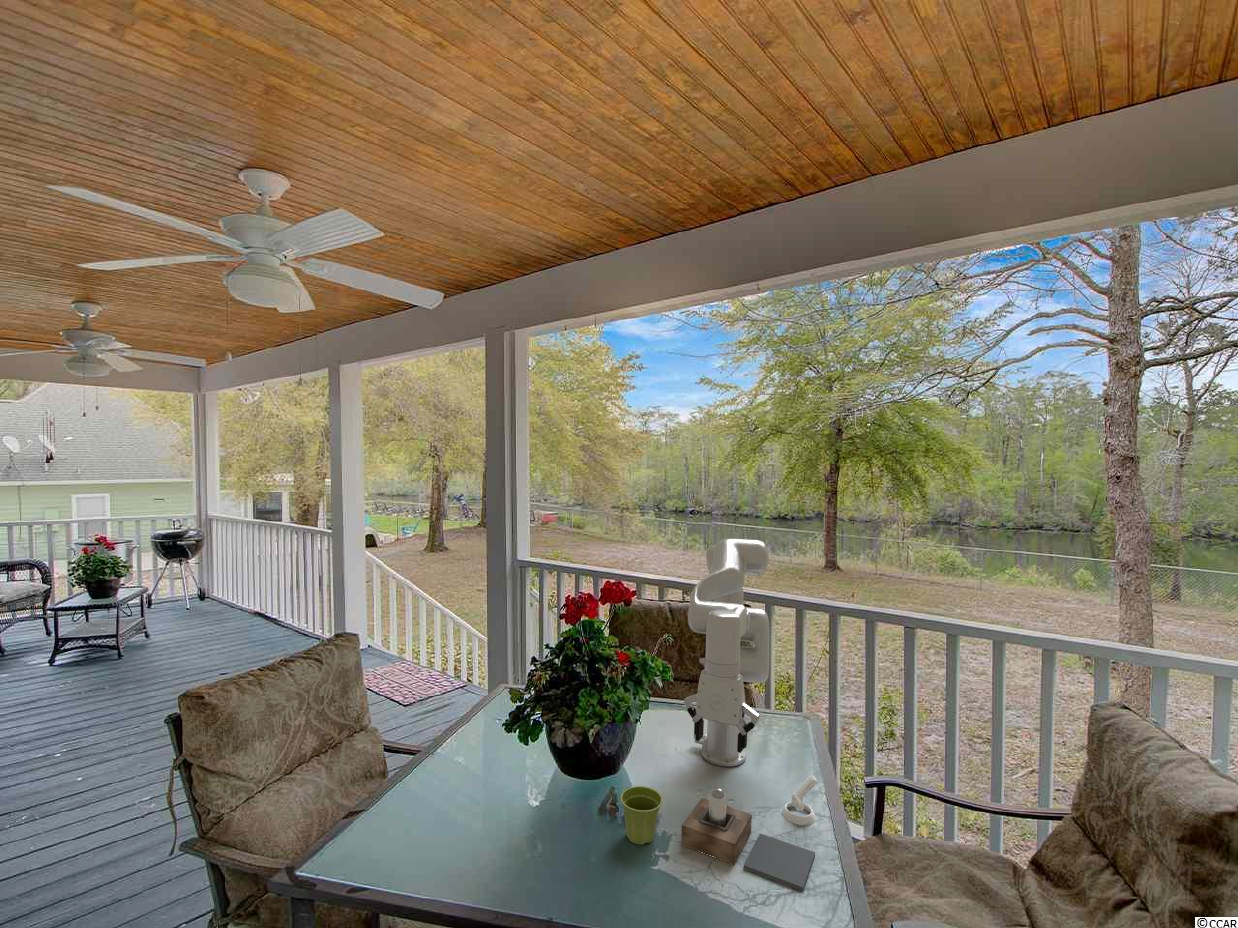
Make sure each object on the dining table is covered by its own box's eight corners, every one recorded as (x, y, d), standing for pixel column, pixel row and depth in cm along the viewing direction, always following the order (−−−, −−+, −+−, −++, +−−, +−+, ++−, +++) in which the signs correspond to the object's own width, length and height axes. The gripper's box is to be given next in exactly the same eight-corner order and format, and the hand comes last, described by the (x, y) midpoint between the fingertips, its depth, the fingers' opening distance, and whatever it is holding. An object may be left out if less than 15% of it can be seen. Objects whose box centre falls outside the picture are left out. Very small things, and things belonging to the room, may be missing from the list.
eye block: (681, 845, 128) (681, 822, 128) (701, 816, 139) (701, 795, 139) (734, 865, 122) (735, 841, 122) (751, 833, 133) (751, 812, 133)
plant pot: (666, 828, 134) (667, 791, 134) (654, 854, 125) (656, 814, 125) (627, 819, 137) (628, 782, 137) (613, 844, 128) (614, 804, 128)
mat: (743, 868, 121) (743, 864, 121) (759, 836, 132) (759, 833, 132) (803, 891, 116) (803, 887, 116) (814, 855, 126) (815, 852, 126)
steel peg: (705, 841, 130) (707, 790, 130) (711, 831, 133) (713, 782, 133) (722, 847, 128) (723, 795, 128) (727, 837, 131) (729, 787, 131)
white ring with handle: (841, 804, 136) (820, 791, 135) (808, 840, 138) (786, 827, 136) (827, 780, 144) (807, 767, 142) (795, 814, 145) (775, 801, 144)
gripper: (679, 664, 131) (677, 740, 131) (755, 680, 122) (753, 762, 123) (692, 655, 137) (689, 728, 138) (765, 670, 129) (763, 747, 129)
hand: (719, 744), depth 130 cm, fingers open, 9 cm apart
